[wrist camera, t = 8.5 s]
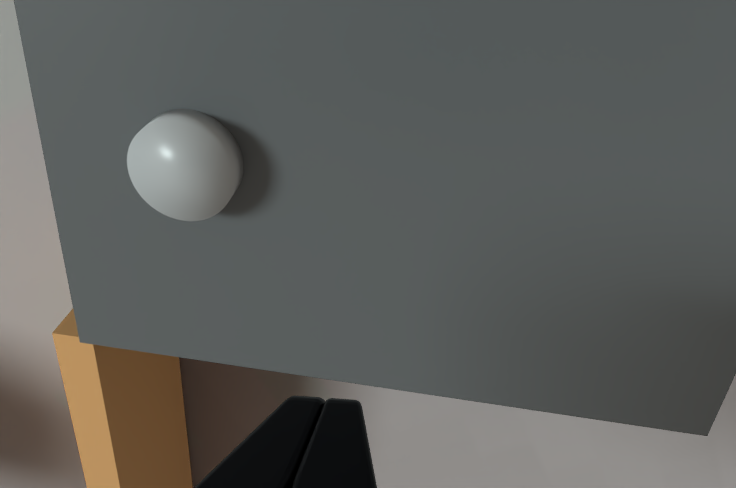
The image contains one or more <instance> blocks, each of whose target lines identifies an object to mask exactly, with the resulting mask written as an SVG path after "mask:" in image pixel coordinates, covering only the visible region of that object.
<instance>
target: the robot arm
mask: <svg viewBox="0 0 736 488" xmlns="http://www.w3.org/2000/svg"><path fill="white" fill-rule="evenodd" d="M195 488H377V486H376V480H375V475H374V469H373V464H372V459H371V453H370V448H369V443H368V437H367V432H366V426H365V421H364V416H363V410H362V406H361V403H360V402H359V401H357V400H348V399H334V398H331V399H328V400H327V401H326V402H325V401H324V400H323V399H322V398H319V397H305V396H292V397H290V398H288V399H287V400H285V401H284V402H283V403H282V404H281V405H280V406H279V407H278V408H277V409H276V410H275V411H274V412H273V413H272V414H271V415H270V416H269V417H268V418H267V419H266V420H264V421H263V422H262V423H261V424H260V425H259V426H258V427H257V428H256V429H255V430H254V431H253V432H252V433H251V434H250V435H249V436H248V437H247V438H246V439H245V440H244V441H243V442H242V443H240V444H239V445H238V446H237V447H236V448H235V449H234V450H233V451H232V452H231V453H230V454H229V455H228V456H227V457H226V458H225V459H224V460H223V461H222V462H221V463H220V464H219V465H217V466H216V467H215V468H214V469H213V470H212V471H211V472H210V473H209V474H208V475H207V476H206V477H205V478H204V479H203V480H202V481H201V482H200V483H199V484H198V485H197V486H196V487H195Z"/></svg>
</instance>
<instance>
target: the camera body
mask: <svg viewBox="0 0 736 488" xmlns="http://www.w3.org/2000/svg"><path fill="white" fill-rule="evenodd" d="M14 4H15V9H16V14H17V19H18V25H19V30H20V35H21V40H22V45H23V50H24V56H25V61H26V66H27V71H28V76H29V82H30V87H31V92H32V97H33V102H34V107H35V113H36V118H37V123H38V128H39V133H40V139H41V144H42V149H43V154H44V159H45V164H46V170H47V175H48V180H49V185H50V190H51V196H52V201H53V206H54V211H55V216H56V221H57V227H58V232H59V237H60V242H61V247H62V253H63V258H64V263H65V268H66V273H67V278H68V284H69V289H70V294H71V299H72V304H73V310H74V315H75V320H76V325H77V330H78V335H79V341H80V343H87V344H94V345H101V346H107V347H114V348H121V349H127V350H134V351H141V352H147V353H154V354H161V355H168V356H174V357H181V358H188V359H194V360H201V361H208V362H214V363H221V364H228V365H234V366H241V367H248V368H255V369H261V370H268V371H275V372H281V373H288V374H295V375H301V376H308V377H315V378H322V379H328V380H335V381H342V382H348V383H355V384H362V385H368V386H375V387H382V388H389V389H395V390H402V391H409V392H415V393H422V394H429V395H435V396H442V397H449V398H456V399H462V400H469V401H476V402H482V403H489V404H496V405H502V406H509V407H516V408H523V409H529V410H536V411H543V412H549V413H556V414H563V415H569V416H576V417H583V418H590V419H596V420H603V421H610V422H616V423H623V424H630V425H636V426H643V427H650V428H656V429H663V430H670V431H677V432H683V433H690V434H697V435H703V436H707V435H708V433H709V431H710V429H711V426H712V424H713V422H714V420H715V418H716V415H717V413H718V411H719V409H720V407H721V405H722V402H723V400H724V398H725V396H726V394H727V391H728V389H729V387H730V385H731V383H732V381H733V378H734V376H735V374H736V0H14Z"/></svg>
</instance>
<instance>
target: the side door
mask: <svg viewBox="0 0 736 488" xmlns="http://www.w3.org/2000/svg"><path fill="white" fill-rule="evenodd" d="M52 335H53V339H54V343H55V348H56V352H57V357H58V361H59V366H60V370H61V374H62V379H63V383H64V388H65V392H66V397H67V401H68V406H69V410H70V414H71V419H72V423H73V428H74V432H75V437H76V441H77V445H78V450H79V454H80V459H81V463H82V468H83V472H84V476H85V481H86V485H87V488H193V485H192V476H191V467H190V457H189V448H188V438H187V429H186V420H185V410H184V401H183V391H182V382H181V373H180V363H179V357H174V356H168V355H161V354H154V353H147V352H141V351H134V350H127V349H121V348H114V347H107V346H101V345H94V344H87V343H80V341H79V335H78V330H77V325H76V320H75V315H74V310H73V309H72V310H71V312H70V313H69V314H68V315H67V316H66V317H65V319H64V320H63V321H62V322H61V323H60V325H59V326H58V327H57V328H56V329H55V330H54V332H53V333H52Z"/></svg>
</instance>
